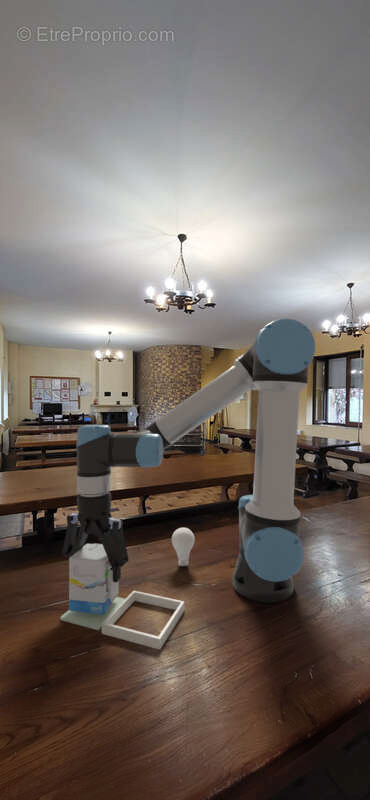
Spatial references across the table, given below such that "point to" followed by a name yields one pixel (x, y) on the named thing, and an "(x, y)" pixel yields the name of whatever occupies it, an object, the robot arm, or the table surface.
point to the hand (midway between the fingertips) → (94, 590)
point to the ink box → (89, 580)
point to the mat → (91, 616)
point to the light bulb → (183, 544)
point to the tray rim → (140, 636)
